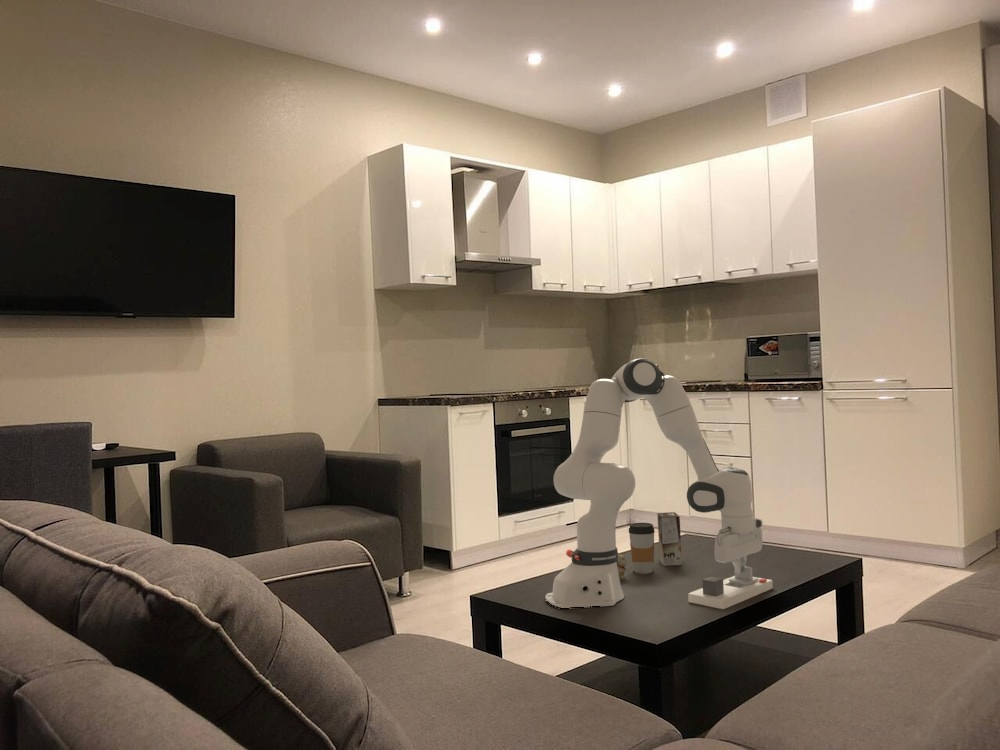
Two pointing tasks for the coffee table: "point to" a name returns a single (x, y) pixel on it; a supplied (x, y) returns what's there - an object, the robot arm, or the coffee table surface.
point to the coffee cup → (642, 547)
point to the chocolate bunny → (621, 566)
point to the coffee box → (669, 538)
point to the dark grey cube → (713, 586)
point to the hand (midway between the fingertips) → (739, 572)
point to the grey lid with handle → (744, 577)
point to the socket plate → (731, 593)
